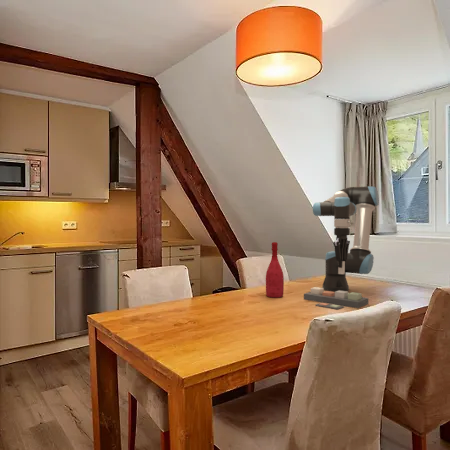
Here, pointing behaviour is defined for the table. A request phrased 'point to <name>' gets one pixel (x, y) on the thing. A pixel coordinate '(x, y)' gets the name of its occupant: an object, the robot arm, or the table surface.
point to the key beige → (341, 294)
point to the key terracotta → (328, 293)
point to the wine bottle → (274, 276)
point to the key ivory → (317, 290)
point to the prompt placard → (329, 306)
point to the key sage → (354, 296)
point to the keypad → (336, 300)
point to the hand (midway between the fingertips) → (341, 273)
